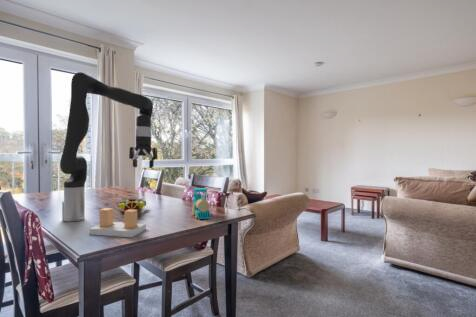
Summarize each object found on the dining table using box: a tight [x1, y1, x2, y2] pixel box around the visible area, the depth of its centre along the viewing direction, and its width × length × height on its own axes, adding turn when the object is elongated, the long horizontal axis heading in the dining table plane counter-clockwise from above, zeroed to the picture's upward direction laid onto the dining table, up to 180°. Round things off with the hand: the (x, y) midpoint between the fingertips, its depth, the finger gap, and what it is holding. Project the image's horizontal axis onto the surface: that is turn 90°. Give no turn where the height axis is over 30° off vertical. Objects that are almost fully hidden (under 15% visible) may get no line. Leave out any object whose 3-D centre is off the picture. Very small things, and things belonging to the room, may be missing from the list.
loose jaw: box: [123, 209, 138, 229], centre depth 122 cm, size 4×4×10 cm
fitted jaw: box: [99, 207, 114, 227], centre depth 124 cm, size 4×4×10 cm
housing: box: [89, 221, 147, 238], centre depth 123 cm, size 20×12×2 cm, turn 81°
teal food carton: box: [191, 187, 211, 220], centre depth 154 cm, size 8×17×15 cm, turn 19°
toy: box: [117, 197, 147, 216], centre depth 161 cm, size 16×9×30 cm
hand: (143, 167), depth 140 cm, fingers open, 8 cm apart
